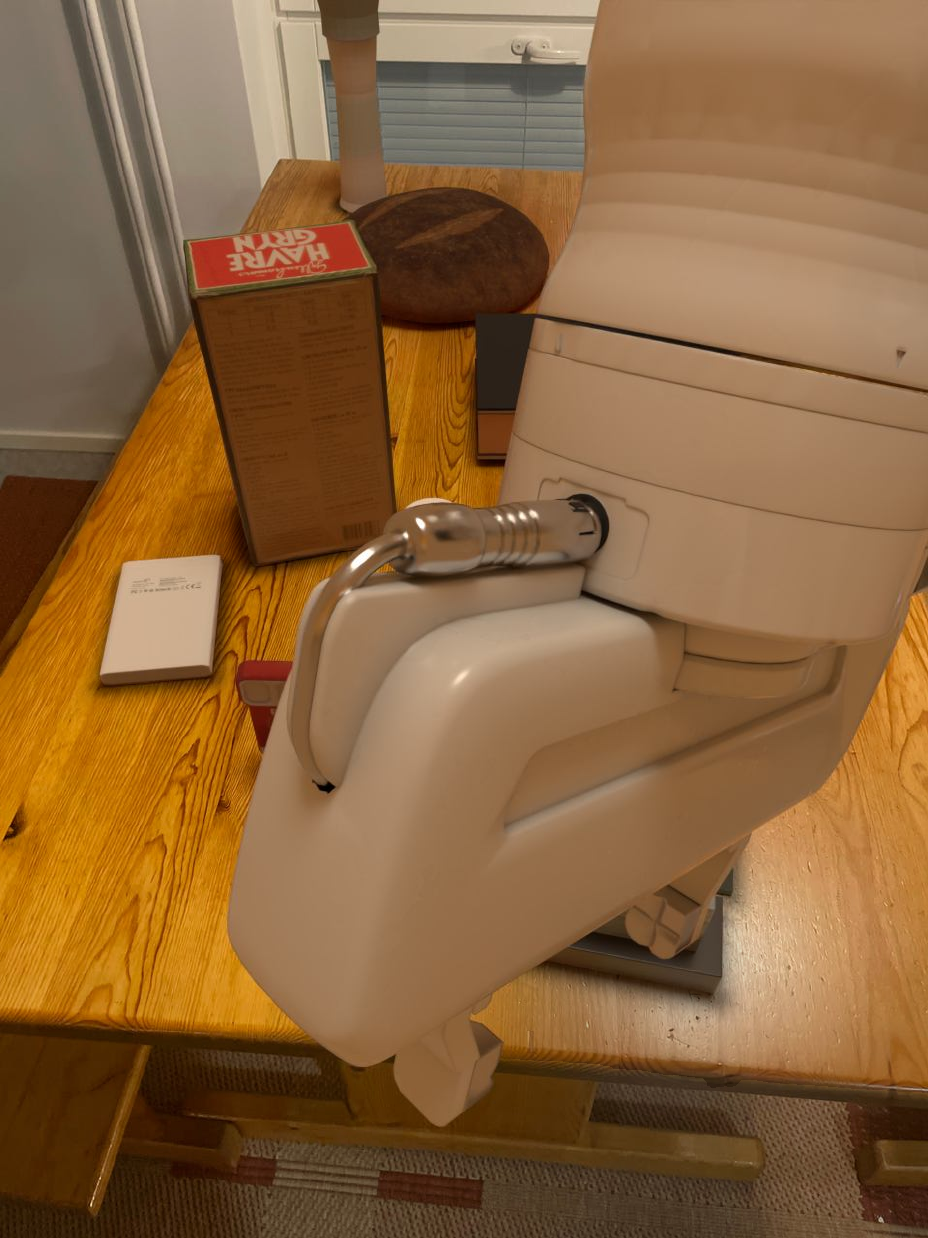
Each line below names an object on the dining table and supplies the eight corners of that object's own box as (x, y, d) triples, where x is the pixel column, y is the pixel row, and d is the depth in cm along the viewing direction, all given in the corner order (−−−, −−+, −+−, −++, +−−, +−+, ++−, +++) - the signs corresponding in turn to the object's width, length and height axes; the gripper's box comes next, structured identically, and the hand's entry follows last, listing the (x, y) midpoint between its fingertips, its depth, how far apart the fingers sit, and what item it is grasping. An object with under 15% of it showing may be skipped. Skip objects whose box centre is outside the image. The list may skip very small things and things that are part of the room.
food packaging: (380, 478, 87) (357, 213, 68) (402, 542, 80) (383, 270, 62) (239, 502, 84) (176, 235, 66) (251, 570, 78) (185, 296, 60)
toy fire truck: (429, 810, 62) (424, 718, 54) (249, 802, 62) (219, 711, 55) (436, 727, 67) (432, 632, 59) (268, 721, 67) (243, 626, 59)
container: (401, 190, 132) (387, -64, 110) (395, 218, 126) (380, -45, 104) (336, 189, 132) (310, -64, 110) (326, 217, 126) (297, -46, 104)
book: (474, 369, 100) (475, 312, 95) (702, 367, 100) (714, 311, 95) (476, 466, 88) (477, 408, 83) (735, 465, 88) (750, 407, 83)
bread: (278, 271, 115) (266, 201, 109) (439, 209, 128) (437, 143, 121) (423, 360, 101) (420, 285, 94) (589, 280, 113) (597, 210, 107)
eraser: (715, 915, 57) (743, 852, 51) (713, 994, 53) (744, 936, 48) (525, 879, 58) (532, 815, 53) (512, 954, 55) (518, 894, 49)
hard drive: (104, 687, 69) (126, 574, 78) (213, 677, 70) (223, 566, 78) (98, 673, 68) (121, 560, 76) (208, 664, 69) (219, 552, 77)
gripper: (497, 584, 10) (326, 1398, 15) (984, 522, 25) (826, 935, 29) (199, 450, 14) (135, 1125, 18) (773, 466, 29) (662, 837, 33)
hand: (564, 1005), depth 24 cm, fingers open, 8 cm apart
